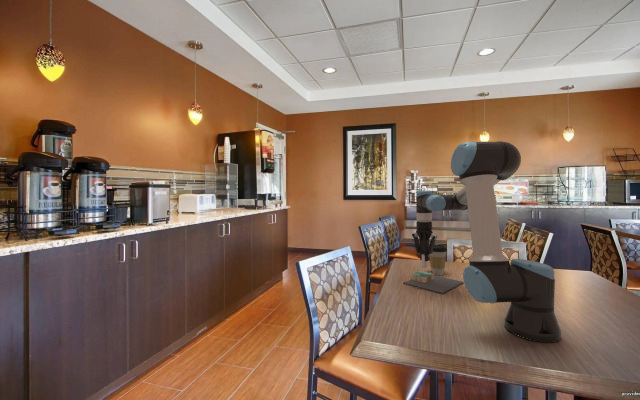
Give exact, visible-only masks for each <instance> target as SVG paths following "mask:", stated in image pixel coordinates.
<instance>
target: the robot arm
mask: <svg viewBox="0 0 640 400" xmlns="http://www.w3.org/2000/svg"><path fill="white" fill-rule="evenodd" d="M521 162H522V155H521V153H520V151H519V149H518V148H517V146H515V145H514V144H513V143H510V142H508V141H502V140H501V141H500V140H499V141H476V140H475V141H474V140H471V141H464V142H461V143H460V144H458V145H457V146H456V147H455V149H454V151H453V153H452V155H451V159H450V170H451V172H452V175H454V176H456V177H458V179H459V183H460V184H462V186H463V187H462V188H461V189H460V190H459V191H458V192H456V193H455V194H433V192H432V190H417V191H416V192H415V193H416V196H415V202H416V204H415V206H416V207H415V209H416V231H415V232H414V233H411V236H412V238H413V241H414V246H415V251H416V253H418V254H419V260H420V261H421V268H423V269H426V268H428V262H429V261H430V257H429V255H430V254H432V252H433V248H434V245H436V240H437V239H438V235H435V234H434V233H433V222H432V221H433V212H441V211H444V212H445V211H467V213H468V220H469V230H470V237H471V246H472V247H471V248H472V256H471V257H470V258H469V260H468V263H469V264H468V265H467V266H466V267H465V268H464V269H463V273H462V274H463V275H462V276H463V277H462V278H463V282H464V283H463V284H464V286H465V288H466V291H467V293H468V294H469V296H471V297H472V299H473V300H475V301H476V302H478V303H481V304H482V303H483V304H497V303H499V304H500V303H510V306H509V308H508V309H507V312H506V315H505V317H504V328H505V327H506V328H505V330H507V331H508V330H509V331H510V332H509V331H508V332H509V333H511V332H512V333H514V334H516V335H519V336H521V337H524V338H528V339H531V340H530V341H532V340H535V341H534V342H537V341H542V342H541V343H546V342H551V343H555V342H554V341H557V342H559V341H560V340H561V339H562V330H561V327H560V324H559V321H558V319H557V316H556V314H555V289H556V288H555V284H556V283H555V282H556V278H555V269H554V267H552V266H551V265H549V264H546V263H542V262H540V261H534V260H528V259H523V258H512V259H511V261H510V259H509V258H508V257H506V256H505V255H504V253H503V245H502V239H501V229H500V224H499V217H498V216H499V215H498V209H497V202H496V194H495V188H494V186H495V185H497V184H498V183H499V182H500V181H506V180H508V179H509V178H510V177H512V176H513V175H514V174H515V173H516V172H517V171H518V170H519V168H520V166H521ZM512 333H511V334H512ZM514 334H513V335H514ZM516 335H515V336H516ZM519 336H518V337H519ZM521 337H520V338H521ZM524 338H523V339H524ZM560 338H561V339H560ZM528 339H527V340H528ZM559 339H560V340H559ZM558 340H559V341H558Z"/></svg>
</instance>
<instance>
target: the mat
mask: <svg viewBox="0 0 640 400" xmlns="http://www.w3.org/2000/svg"><path fill="white" fill-rule="evenodd" d="M463 284H464V281H461V280H458V279H452V278H447V277H444V276H443V277H442V276H440V275H434V279H433V280H430V281H428V282H426V283H423V282H419V281H415V280H411V279H409V280H407V281H403V285H405V286H409V287H413V288H417V289H421V290H424V291H429V292H432V293H436V294H440V295H444V294H447V293H449V292H451V291H452V290H453V289H456V288H457V287H460V286H462V285H463Z"/></svg>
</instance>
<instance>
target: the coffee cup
mask: <svg viewBox="0 0 640 400" xmlns="http://www.w3.org/2000/svg"><path fill="white" fill-rule="evenodd" d="M447 252H448V249H447V247H446V246H444V245H438V244H437V245H436V244H434V248H433V252H432V254H429V265H430V269H431V273H432V274H434V275H435V276H443V275H444V274H445V268H446V260H447Z"/></svg>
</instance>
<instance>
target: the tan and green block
mask: <svg viewBox="0 0 640 400" xmlns="http://www.w3.org/2000/svg"><path fill="white" fill-rule="evenodd" d="M433 279H434V274H432V272H427V271H422V270H419V271H416V272H413V273H411V274H410V279H409V280H415V281H419V282H423V283H426V282H428V281H430V280H433Z"/></svg>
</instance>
